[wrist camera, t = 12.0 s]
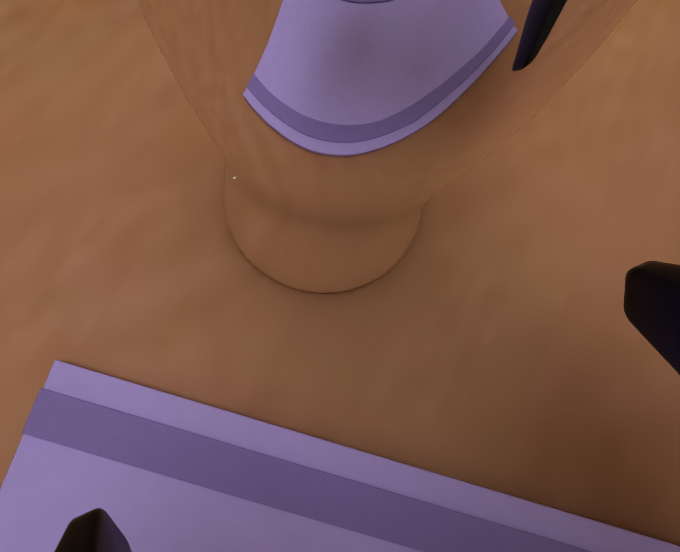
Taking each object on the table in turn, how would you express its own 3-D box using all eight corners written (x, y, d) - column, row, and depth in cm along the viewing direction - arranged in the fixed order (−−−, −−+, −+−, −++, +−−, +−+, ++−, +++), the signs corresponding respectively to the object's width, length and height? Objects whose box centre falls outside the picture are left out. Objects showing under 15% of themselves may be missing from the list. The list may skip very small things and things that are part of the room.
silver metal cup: (351, 64, 19) (580, -1070, 5) (475, 232, 18) (1281, -553, 4) (165, 164, 17) (-378, -1078, 3) (289, 354, 16) (372, -156, 2)
